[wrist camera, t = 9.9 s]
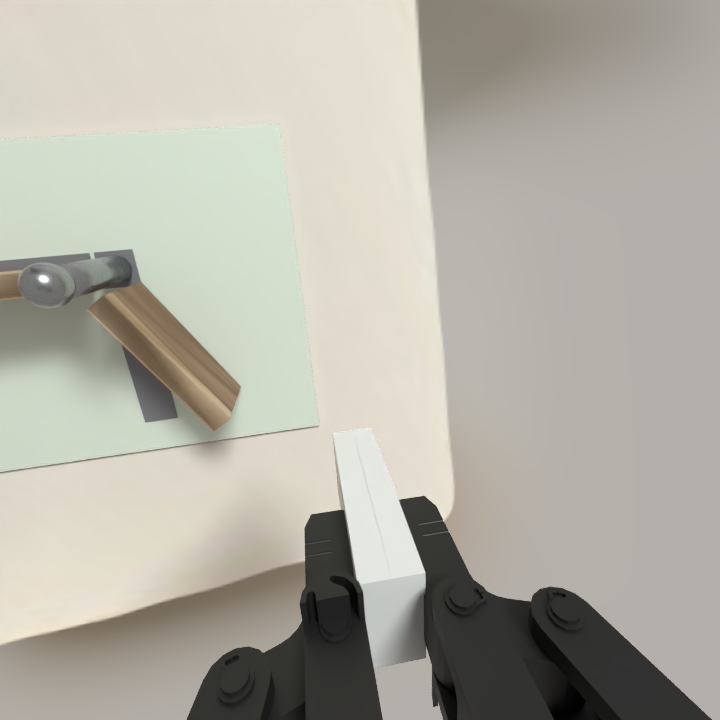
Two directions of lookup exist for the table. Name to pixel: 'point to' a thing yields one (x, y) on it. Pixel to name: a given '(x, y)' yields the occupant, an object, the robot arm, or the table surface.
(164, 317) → the board
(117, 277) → the hinge post
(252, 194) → the card
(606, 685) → the robot arm
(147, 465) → the table surface
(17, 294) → the bar
